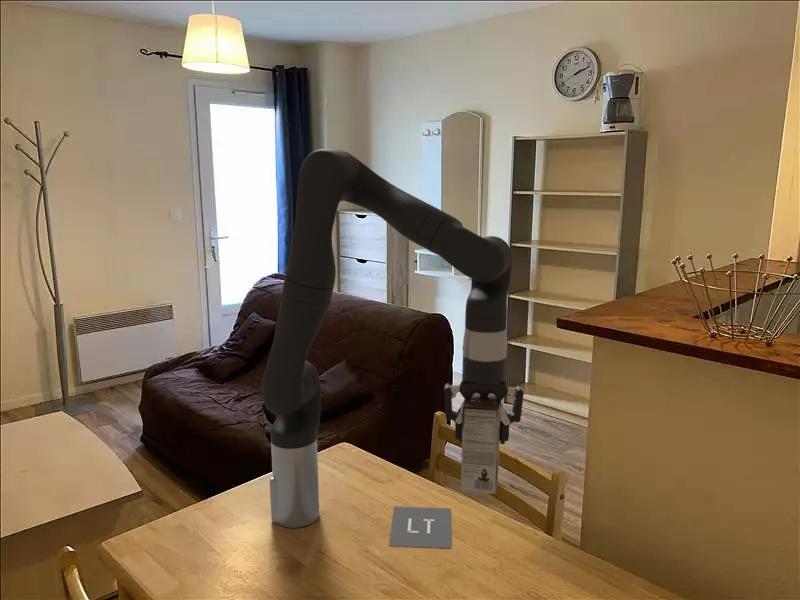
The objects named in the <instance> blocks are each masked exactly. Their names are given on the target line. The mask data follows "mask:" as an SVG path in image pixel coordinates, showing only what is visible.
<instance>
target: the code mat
mask: <svg viewBox="0 0 800 600" xmlns="http://www.w3.org/2000/svg"><path fill="white" fill-rule="evenodd" d="M452 545H453V544H452V510H451V508H449V507H446V508H443V507H441V508H440V507H419V506H417V507H416V506H413V507H412V506H398V505H397V506H394V507H393V515H392V523H391V530H390V536H389V542H388V547H396V548H397V547H401V548H419V549H420V548H423V549H424V548H425V549H446V550H447V549H448V550H451V549H452Z"/></svg>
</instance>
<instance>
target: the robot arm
mask: <svg viewBox="0 0 800 600" xmlns="http://www.w3.org/2000/svg"><path fill="white" fill-rule="evenodd" d="M298 173H299V174H298V181H297V192H296V193H297V195H296V208H295V219H294V228H293V233H292V237H291V244H290V249H289V256H288V261H287V266H286V269H285V274H284V279H283V285H282V290H281V297H280V305H279V310H278V315H277V319H276V326H275V331H274V337H273V342H272V345H271V348H270V349H271V350H270V352H269V356H268V359H267V362H266V366H265V368H264V369H265V370H264V373H263V375H262V380H261V386H260V393H261V394H260V395H261V399H262V401H263V402H262V403H263V404H264V406H265V408H266V409H267V410H268V411H269V412H271V413H272V414H273V415H276V416H277V417H276V418H275V421H274V422H273V424H272V426H271V428H270V449H271V451H270V452H271V469H272V470H271V471H272V473H271V474H272V475H271V477H270V478H269V492H270V498H269V499H270V516H271V517H270V518H271V520H270V521H271V523H274V524H277V525H280V526H282V527H285V528H301V527H306V526H308V525H311V524H313V523H314V522H315V521H317V519H318V518H319V516H320V494H319V493H320V491H319V466H318V465H319V464H318V461H319V460H318V459H319V457H318V429H319V426H320V423H321V412H322V411H321V410H322V408H321V406H322V405H321V404H322V403H321V402H322V400H321V399H322V398H321V397H322V387H321V379H320V375H319V373H318V371H317V369H316V367H315V366H314V365H313V364H312V363H311V362H310V361H308V360H307V356H308V354H309V351H310V348H311V346H312V343H313V341H314V340H315V338H316V336H317V334H318V332H319V331H320V328H321V327H322V325H323V323H324V320H325V319H326V317H327V314H328V312H329V309H330V305H331V302H332V299H333V298H332V297H333V294H334V287H335V282H336V276H337V274H336V273H337V272H336V260H335V254H334V249H333V230H334V224H335V219H336V217H337V216H336V215H337V212H338V208H339V204H340V202H347V203H351V204H352V205H356V206H358V207H361V208H364V209H366V210H368V211H370V212H371V213H373V214H375V215H376V216H379V217H380V218H381V219H382V220H383V221H385V222H386V223H387V224H388V225H389V226H391V227H392V229H394V230H395V231H396V232H398V233H399V234H400V235H401V236H403V237H405V238H406V239H408V240H409V241H411V242H413V243H415V244H416V245H418V246H420V247H421V248H423V249H425V250H428V251H429V252H431V253H433V254H435V255H437V256H439V257H441V258H442V259H443V260H444V261H445V262H447V263H448V264H449V265H450V266H451V267H452V268H454V269H456V270H457V271H458V272H459V273H461V274H462V275H464V276H466V277H468V278H470V279H471V285H470V286H471V288H470V292H469V295H468V297H467V299H466V302H465V303H466V304H465V315H464V316H465V319H464V320H465V321H464V333H463V340H462V341H463V342H462V343H463V344H462V369H461V370H462V375H461V377H462V378H461V382H460V384H458V385H455V384H453V385H452V384H450V383H448V382H447V383H445V384H444V389H443V390H444V408H445V409H444V410H445V411H444V413H445V419H446V420H447V421H453V422H454V424H455V426H454V435H455V436H454V437H455V439H456V440H458V443H461V444H462V420H463V404H464V400H465V399H469V401H478V400H479V399H480V400H490V402H498V400H500V401H501V405H500V418H501V423H500V445H505V444H506V442H508V441H509V438H510V425H511V424H512V423H519V422H520V421H521V419H522V410H523V402H524V394H525V393H524V390H523V388H522V386H521V385H516V386H508V385H507V383H506V380H507V379H506V376H507V359H508V357H507V356H508V355H507V354H508V351H507V350H508V338H507V337H508V336H507V320H508V318H507V317H508V306H507V305H508V293H509V289H510V282H511V275H512V269H513V268H512V266H513V265H512V264H513V255H512V250H511V248H510V246H509V244H508V243H507V242H506V241H505V240H504V239H503V238H501V237H499V236H496V235H495V236H493V235H490V236H489V235H488V236H484V237H482V236H480V235H479V234H476V233H475V232H473V231H471V230H470V229H468V228H466V227H464V225H463V223H462V222H461V221H460V220H459V219H457V218H456V217H454V216H453V215H450V214H449V213H447V212H445V211H443V210H441V209H439V208H437V207H435V206H434V205H432V204H430V203H428V202H425V200H421V199H420V198H418V197H416V196H414V195H412V194H410V193H408V192H406V191H404V190H403V189H401V188H399V187H398V186H397V185H394V184H392V183H391V182H389V181H388V180H386V179H385V178H383V177H382V176H380V175H379V174H378V173H376V172H375V171H374V170H373V169H371V168H370V167H369V166H368V165H366V164H364V163H363V162H362V161H360V159H358V158H357V157H355V156H354V155H352V153H349V152H348V151H345V150H342V149H341V150H340V149H328V148H327V149H326V148H323V149H321V148H320V149H317V150H313V151H311V152H310V153H309V154H308V155H307V156H306V157H305V158H304V159H303V162H302V164H301V166H300V169H299V172H298ZM458 393H460V395H461V396H462V397H463V401H462V403H461V405H460V407H459V408H458V410H457V411H455V410H453V400H452V399H455V398H456V397H457V394H458ZM508 394H509V395H510V399H511V400H512V401H513V404H512V412H510V413H508V411H507V410H506V409H505V407H504V404H503V403H502V400H503V399H504V398H505V397H506V396H507V395H508Z"/></svg>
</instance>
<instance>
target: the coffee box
mask: <svg viewBox="0 0 800 600" xmlns="http://www.w3.org/2000/svg"><path fill="white" fill-rule="evenodd" d="M463 401H464V404H463V420H462V443H461V461H460V462H461V463H460V464H461V465H460V466H461V468H460V470H461V471H460V490H461V491H463V492H473V493H482V494H483V493H484V494H492V495H494V494H496V493H497V486H498V478H499V470H500V469H499V468H500V466H499V465H500V445H501V443H500V423H501V421H502V420H501V418H500V405H501V403H502V401H500V400H498V402H490V400H480V399H479V400H478V401H469V399H465V400H464V399H463Z"/></svg>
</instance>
